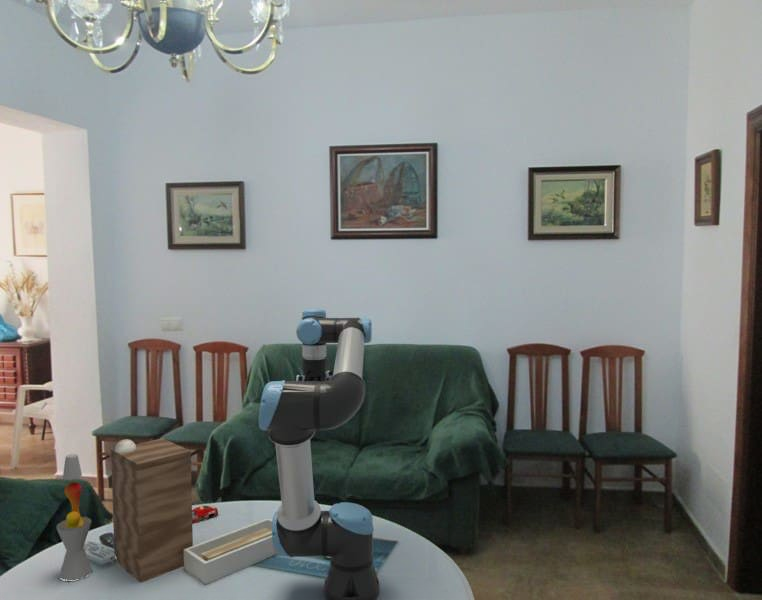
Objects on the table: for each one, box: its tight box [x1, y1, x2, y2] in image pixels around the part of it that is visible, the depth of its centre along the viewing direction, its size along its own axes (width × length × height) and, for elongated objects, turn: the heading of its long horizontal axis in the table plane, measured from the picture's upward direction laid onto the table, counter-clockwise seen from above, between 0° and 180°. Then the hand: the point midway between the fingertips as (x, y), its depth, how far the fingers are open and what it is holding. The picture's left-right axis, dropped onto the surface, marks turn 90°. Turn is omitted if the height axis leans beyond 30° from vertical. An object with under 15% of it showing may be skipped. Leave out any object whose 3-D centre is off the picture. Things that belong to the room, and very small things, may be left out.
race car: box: [192, 505, 219, 524], centre depth 211 cm, size 13×5×4 cm, turn 128°
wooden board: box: [201, 528, 272, 561], centre depth 183 cm, size 4×23×4 cm, turn 136°
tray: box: [183, 517, 278, 585], centre depth 183 cm, size 12×30×6 cm, turn 136°
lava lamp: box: [55, 453, 93, 580], centre depth 173 cm, size 9×9×35 cm
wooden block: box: [110, 437, 194, 583], centre depth 180 cm, size 18×16×37 cm
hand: (314, 424), depth 192 cm, fingers open, 13 cm apart
